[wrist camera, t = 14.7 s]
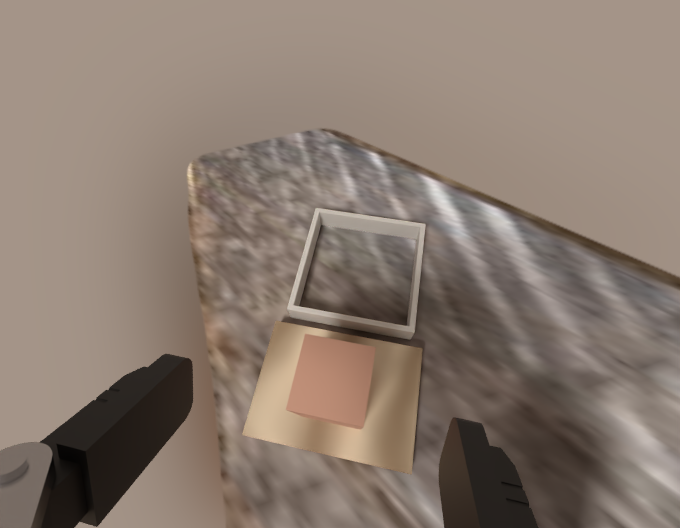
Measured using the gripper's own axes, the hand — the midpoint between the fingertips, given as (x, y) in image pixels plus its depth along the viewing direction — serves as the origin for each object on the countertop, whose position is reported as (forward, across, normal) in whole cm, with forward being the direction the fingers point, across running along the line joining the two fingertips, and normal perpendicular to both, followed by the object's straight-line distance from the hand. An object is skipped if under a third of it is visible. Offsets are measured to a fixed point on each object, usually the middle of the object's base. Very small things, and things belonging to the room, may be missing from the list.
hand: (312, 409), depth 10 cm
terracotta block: (+16, +1, +12) cm, 20 cm away
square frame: (+26, +1, +5) cm, 26 cm away
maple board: (+17, +1, +13) cm, 22 cm away
